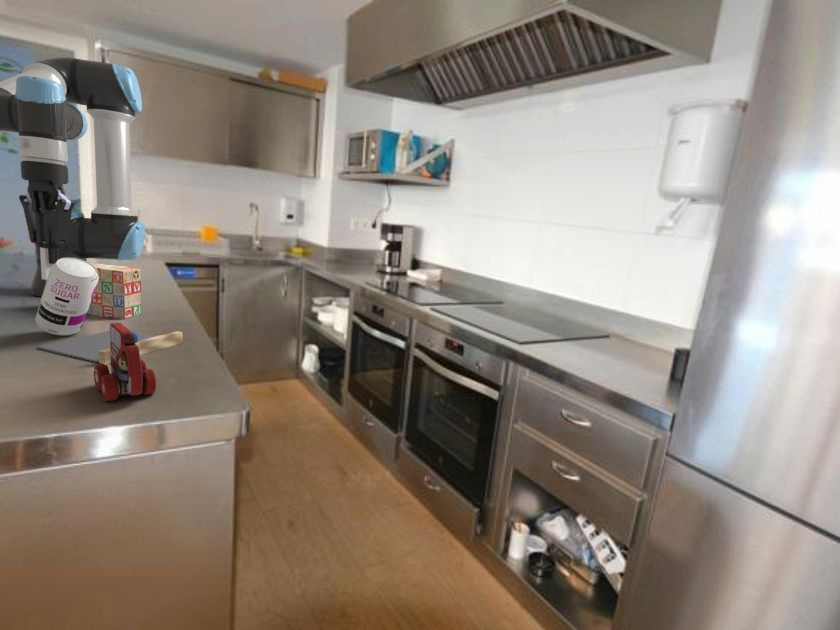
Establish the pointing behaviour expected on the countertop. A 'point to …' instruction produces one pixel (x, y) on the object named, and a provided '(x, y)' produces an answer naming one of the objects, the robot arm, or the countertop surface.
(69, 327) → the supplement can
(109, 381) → the toy fire truck
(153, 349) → the stop rail
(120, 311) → the stack of blocks
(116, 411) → the countertop surface
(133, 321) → the countertop surface
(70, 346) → the mat
